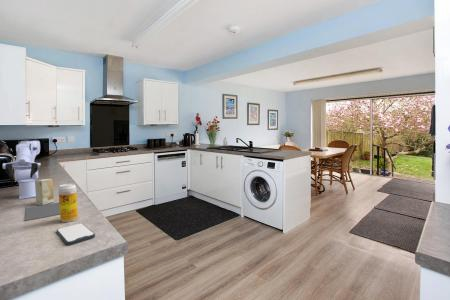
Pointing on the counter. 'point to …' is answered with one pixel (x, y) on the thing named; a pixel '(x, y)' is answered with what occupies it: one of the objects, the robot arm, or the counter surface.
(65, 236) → the phone case
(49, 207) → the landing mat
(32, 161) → the robot arm
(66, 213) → the beer can
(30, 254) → the counter surface
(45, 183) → the skincare box
